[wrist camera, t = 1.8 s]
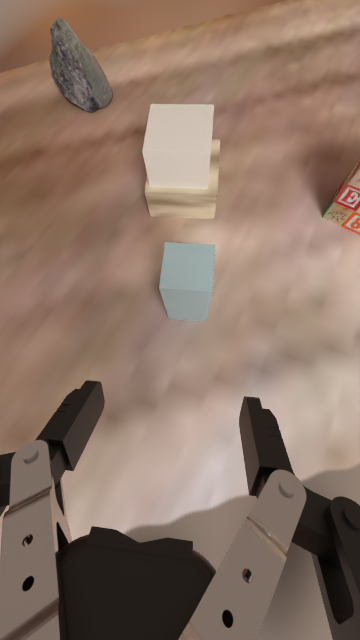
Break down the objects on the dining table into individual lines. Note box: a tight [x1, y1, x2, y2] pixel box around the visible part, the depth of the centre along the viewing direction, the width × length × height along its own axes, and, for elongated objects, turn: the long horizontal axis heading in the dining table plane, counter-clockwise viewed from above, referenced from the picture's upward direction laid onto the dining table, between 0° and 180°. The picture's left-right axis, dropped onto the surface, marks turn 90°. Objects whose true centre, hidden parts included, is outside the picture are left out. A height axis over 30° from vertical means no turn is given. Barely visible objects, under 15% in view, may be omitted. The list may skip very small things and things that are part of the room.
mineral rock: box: [50, 17, 112, 113], centre depth 40 cm, size 13×11×10 cm
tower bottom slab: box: [145, 140, 220, 219], centre depth 34 cm, size 10×10×5 cm
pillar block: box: [159, 242, 215, 322], centre depth 26 cm, size 5×5×10 cm
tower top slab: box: [142, 104, 214, 189], centre depth 30 cm, size 8×8×5 cm
